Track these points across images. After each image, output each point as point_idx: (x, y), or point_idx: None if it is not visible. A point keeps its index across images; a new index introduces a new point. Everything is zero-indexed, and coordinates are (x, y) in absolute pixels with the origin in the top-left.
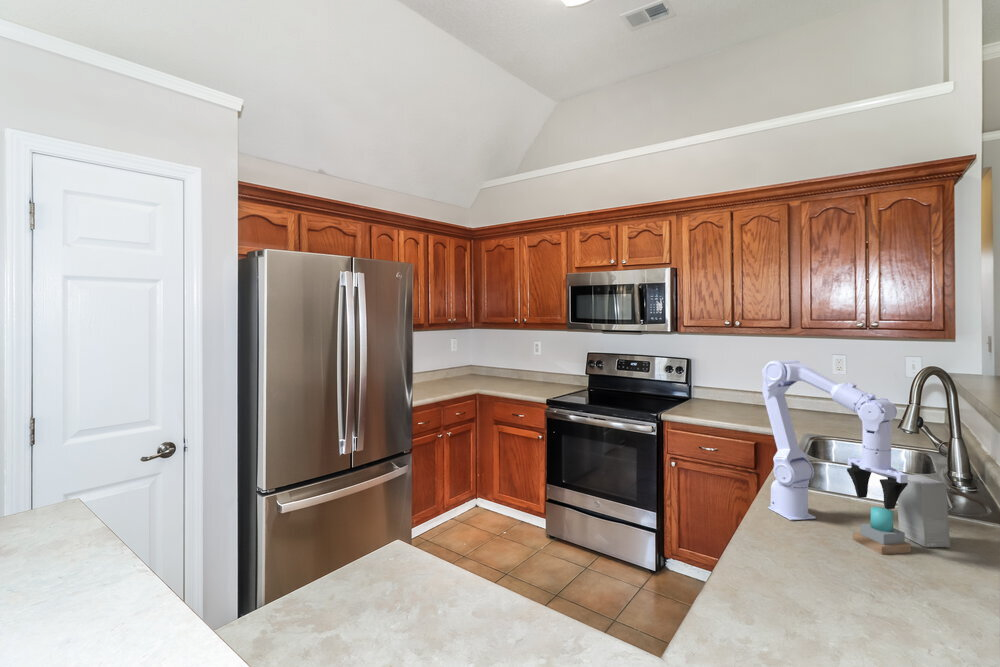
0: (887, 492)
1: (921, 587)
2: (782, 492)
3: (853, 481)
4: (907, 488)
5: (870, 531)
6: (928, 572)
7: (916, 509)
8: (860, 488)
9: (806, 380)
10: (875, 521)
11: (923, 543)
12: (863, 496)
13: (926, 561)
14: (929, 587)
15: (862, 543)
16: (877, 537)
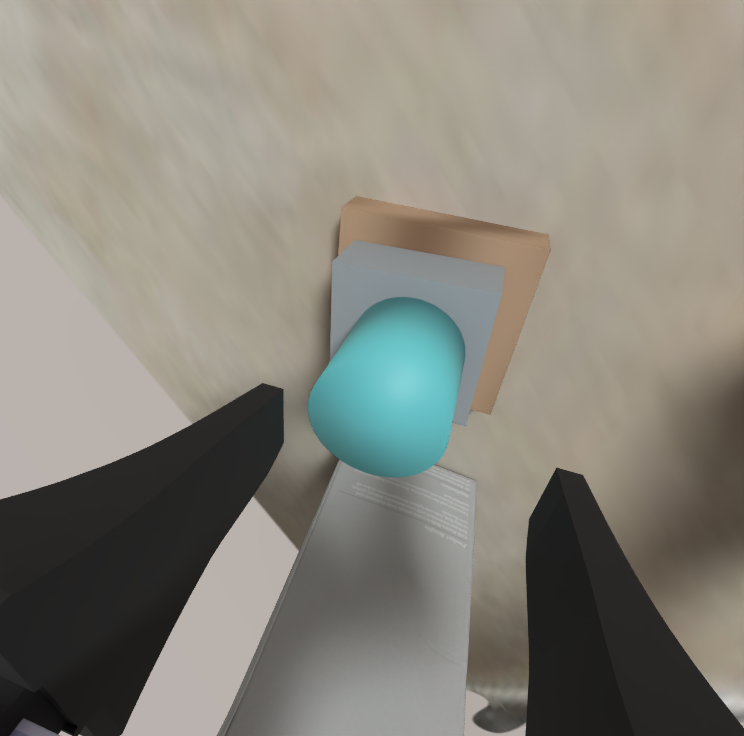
0: (100, 469)
1: (45, 3)
2: None
3: (663, 639)
4: (358, 714)
5: (430, 272)
6: (179, 214)
7: (334, 571)
8: (563, 565)
9: None
10: (394, 321)
11: None
12: (539, 505)
13: (263, 315)
14: (52, 51)
15: (476, 222)
16: (385, 256)
